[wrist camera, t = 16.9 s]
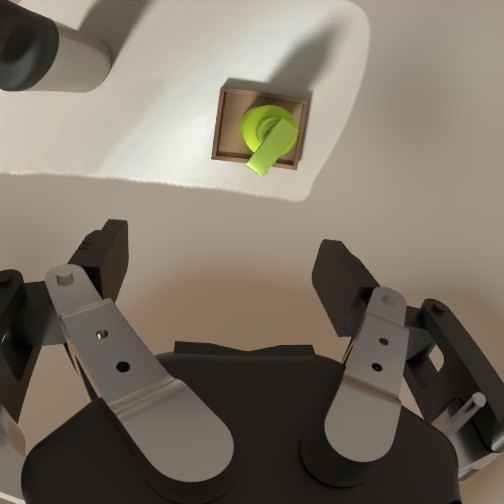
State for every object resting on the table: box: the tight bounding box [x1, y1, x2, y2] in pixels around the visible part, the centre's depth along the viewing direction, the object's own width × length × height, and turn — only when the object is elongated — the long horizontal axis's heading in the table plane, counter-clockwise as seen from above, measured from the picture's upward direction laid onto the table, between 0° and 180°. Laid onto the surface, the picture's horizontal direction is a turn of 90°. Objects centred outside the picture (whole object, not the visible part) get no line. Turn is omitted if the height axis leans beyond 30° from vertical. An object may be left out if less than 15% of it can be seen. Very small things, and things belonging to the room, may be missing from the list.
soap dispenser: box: [239, 105, 299, 176], centre depth 34 cm, size 6×7×20 cm
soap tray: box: [211, 87, 309, 170], centre depth 43 cm, size 13×11×2 cm
